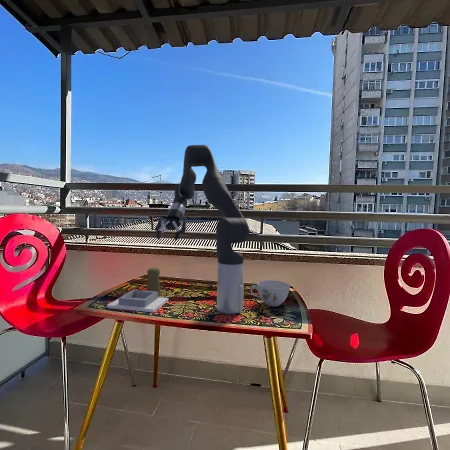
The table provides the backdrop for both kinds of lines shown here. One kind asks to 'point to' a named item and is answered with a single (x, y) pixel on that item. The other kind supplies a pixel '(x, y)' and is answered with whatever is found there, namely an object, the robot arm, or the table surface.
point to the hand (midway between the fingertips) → (166, 239)
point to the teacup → (272, 291)
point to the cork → (153, 280)
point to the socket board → (139, 301)
